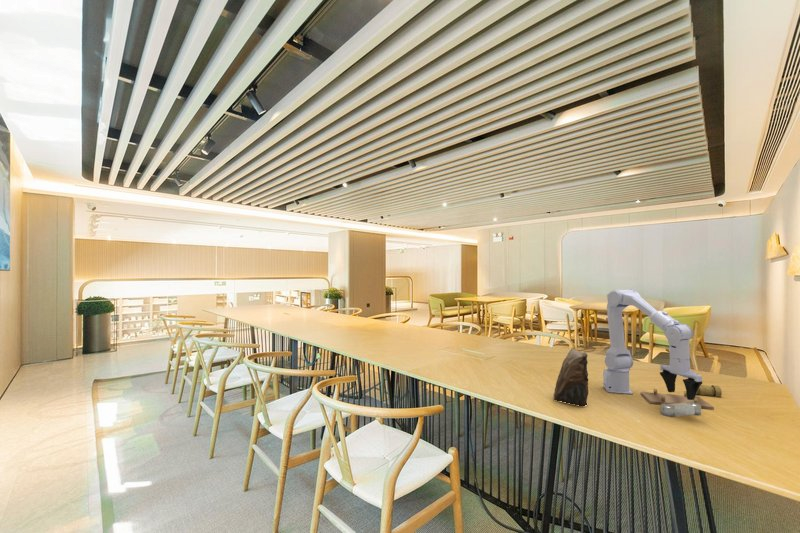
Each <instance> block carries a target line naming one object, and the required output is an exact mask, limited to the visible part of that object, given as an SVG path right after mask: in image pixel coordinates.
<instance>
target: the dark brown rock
mask: <svg viewBox="0 0 800 533" xmlns="http://www.w3.org/2000/svg"><path fill="white" fill-rule="evenodd" d="M588 363H589V362H588V354H587V353H586V352H583V351H579V350H577V349H576V348H572V347H570V350H569V352H568V353H567V355H566V357H565V358H564V360H563V361H562V364H561V367H560V371H559V373H558V376H557V379H556V382H555V388H554V392H553V401H554V400H557V401H562V402H566V403H565V404H567V403H570V404H575V405H574V406H576V405H579V406H585V405H587V403H588V402H587V401H588V396H589V378H588V377H589V372H588ZM557 401H556V402H557ZM562 402H561V403H562ZM570 404H569V405H570ZM579 406H578V407H579ZM587 406H588V405H587Z"/></svg>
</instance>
